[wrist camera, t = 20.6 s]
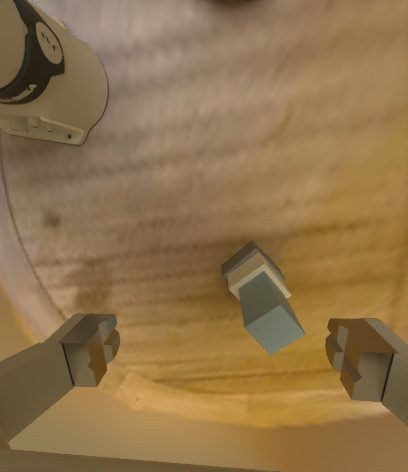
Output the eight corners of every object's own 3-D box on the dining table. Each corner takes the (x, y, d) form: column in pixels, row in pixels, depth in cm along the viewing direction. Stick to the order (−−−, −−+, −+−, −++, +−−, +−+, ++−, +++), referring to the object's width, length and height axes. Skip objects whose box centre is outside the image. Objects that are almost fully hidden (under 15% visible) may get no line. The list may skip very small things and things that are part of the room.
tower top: (251, 301, 39) (255, 318, 34) (227, 274, 38) (228, 288, 33) (282, 280, 38) (291, 295, 33) (258, 252, 37) (264, 263, 32)
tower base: (247, 290, 44) (251, 304, 39) (222, 265, 43) (222, 276, 38) (278, 267, 42) (285, 279, 37) (252, 239, 41) (256, 248, 36)
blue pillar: (257, 310, 34) (270, 355, 25) (238, 288, 33) (244, 327, 25) (283, 293, 33) (305, 334, 24) (264, 270, 32) (280, 304, 23)
